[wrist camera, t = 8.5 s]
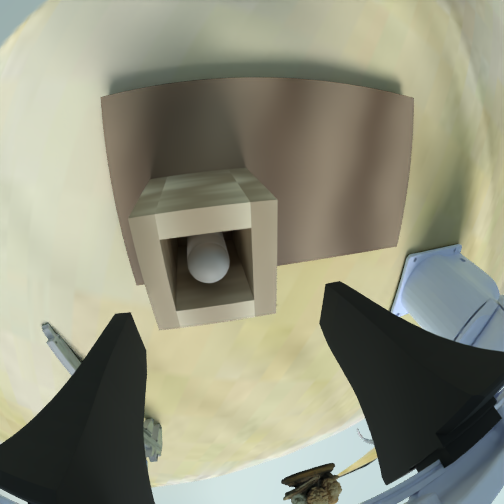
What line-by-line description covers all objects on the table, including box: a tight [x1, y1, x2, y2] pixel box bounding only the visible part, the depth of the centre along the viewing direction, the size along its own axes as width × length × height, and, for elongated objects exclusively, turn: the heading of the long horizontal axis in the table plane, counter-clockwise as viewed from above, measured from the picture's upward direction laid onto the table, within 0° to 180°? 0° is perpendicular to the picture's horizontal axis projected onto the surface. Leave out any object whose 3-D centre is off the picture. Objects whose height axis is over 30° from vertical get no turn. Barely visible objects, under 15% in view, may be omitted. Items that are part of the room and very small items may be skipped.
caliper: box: [42, 324, 162, 462], centre depth 21 cm, size 20×1×6 cm, turn 19°
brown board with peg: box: [101, 77, 414, 285], centre depth 14 cm, size 20×12×7 cm, turn 92°
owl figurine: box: [281, 463, 342, 504], centre depth 53 cm, size 18×12×17 cm, turn 98°
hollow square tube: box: [128, 168, 278, 330], centre depth 13 cm, size 5×5×6 cm
